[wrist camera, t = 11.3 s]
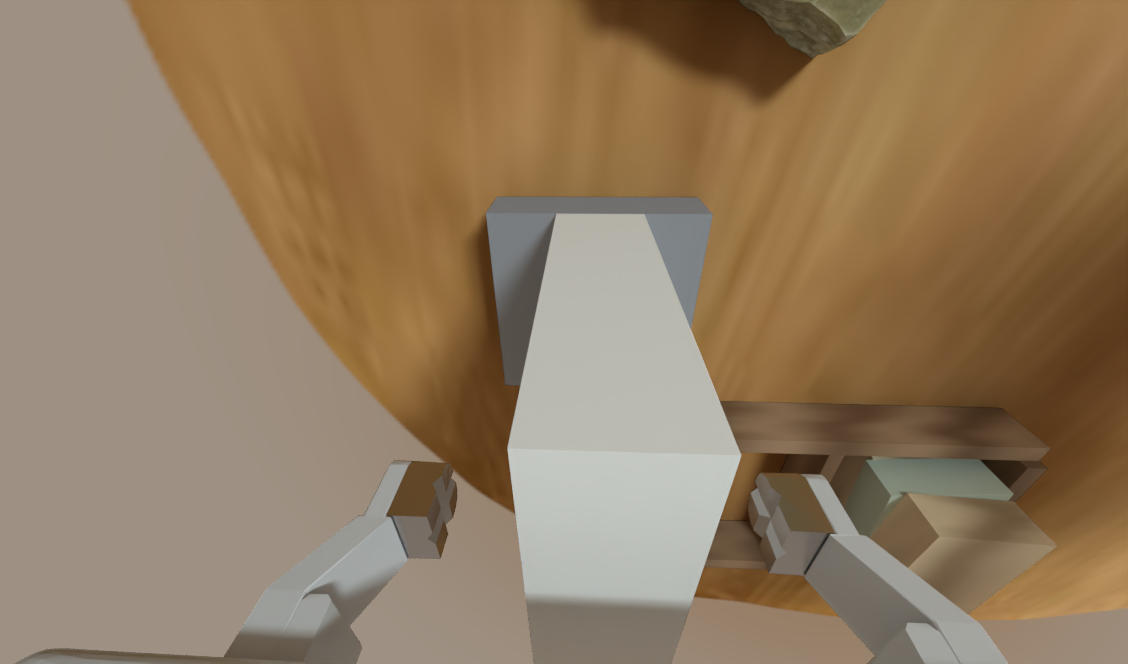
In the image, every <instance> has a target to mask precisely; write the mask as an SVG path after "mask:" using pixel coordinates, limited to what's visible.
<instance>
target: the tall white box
mask: <svg viewBox="0 0 1128 664" xmlns="http://www.w3.org/2000/svg"><path fill="white" fill-rule="evenodd" d="M507 450H508V458H509V466H510V474H511V482H512V490H513V498H514V507H515V515H516V523H517V531H518V538H519V547H520V556H521V564H522V572H523V580H524V588H525V596H526V604H527V612H528V621H529V629H530V637H531V645H532V652H533V661H534V664H671V663H672V660H673V657H674V654H675V651H676V648H677V645H678V642H679V639H680V636H681V633H682V630H683V627H684V624H685V621H686V618H687V615H688V613H689V610H690V607H691V603H692V601H693V598H694V595H695V592H696V589H697V586H698V583H699V580H700V577H701V574H702V571H703V568H704V565H705V562H706V559H707V556H708V553H709V550H710V547H711V544H712V541H713V538H714V535H715V533H716V530H717V527H718V524H719V521H720V518H721V515H722V512H723V509H724V506H725V503H726V500H727V497H728V494H729V491H730V488H731V485H732V482H733V479H734V476H735V473H736V470H737V467H738V464H739V461H740V458H741V453H740V451H739V448H738V446H737V443H736V441H735V438H734V436H733V433H732V431H731V428H730V426H729V423H728V421H727V418H726V416H725V413H724V411H723V408H722V406H721V403H720V401H719V398H718V396H717V393H716V391H715V388H714V386H713V383H712V381H711V378H710V376H709V374H708V371H707V369H706V366H705V364H704V361H703V359H702V356H701V354H700V351H699V349H698V346H697V344H696V341H695V339H694V336H693V334H692V331H691V329H690V326H689V324H688V321H687V319H686V316H685V314H684V311H683V309H682V306H681V304H680V301H679V299H678V296H677V294H676V291H675V289H674V286H673V284H672V281H671V279H670V276H669V274H668V271H667V269H666V266H665V264H664V261H663V259H662V256H661V254H660V251H659V249H658V246H657V244H656V241H655V239H654V237H653V234H652V232H651V229H650V227H649V224H648V222H647V219H646V217H645V214H556V218H555V222H554V227H553V232H552V237H551V241H550V246H549V251H548V256H547V261H546V265H545V270H544V275H543V280H542V285H541V289H540V294H539V299H538V304H537V309H536V313H535V318H534V323H533V328H532V333H531V337H530V342H529V347H528V352H527V357H526V361H525V366H524V371H523V376H522V381H521V385H520V390H519V395H518V400H517V405H516V409H515V414H514V419H513V424H512V429H511V433H510V438H509V443H508V448H507Z"/></svg>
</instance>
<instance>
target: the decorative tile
mask: <svg viewBox="0 0 1128 664" xmlns="http://www.w3.org/2000/svg"><path fill="white" fill-rule="evenodd" d="M739 1H740V3H741V4H742V5H743V6H745V7H746V8H748V9H750V10H752V11H755V12H757V13H758V14H759V15H761V16H762V17H763V18H764V20H765V21H766V22H767V23H768V25H769V26H770V27H771V28H772V30H773V31H774V32H775V34H776V35H779V36H781V37H783V38H784V39H785V40H786V42H787V43H788V44H789V45H790V46H791V47H793V48H795V49H797V50H799V51H801V52H803V53H804V54H806V55H808V56H809V57H812V58H814V57H815V56H816V55H819V54H824V53H826V52H828V51H831V50H833V49H835V48H837V47H839V46H841V45H843V44H845V43H846V42H847V41H849V40H850V39H851V38H853V37H854V36H855V35H857V34H858V33H859V31H860V30H861V29H862V28H863V27H864V25H865V24H866V23H867V22H868V20H869V19H870V18H871V17H872V16H873V15H874V14H875V13H876V12H877V10H878V9H879V8H880V7H881V6H882V5H883V4H884V3H885V2H886V0H739Z"/></svg>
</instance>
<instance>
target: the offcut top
mask: <svg viewBox="0 0 1128 664" xmlns="http://www.w3.org/2000/svg"><path fill="white" fill-rule="evenodd" d="M870 539H871V540H872V541H874V542H875V543H876V544H878V545H879V546H880V547H881V548H883V549H884V550H885V551H887V552H888V553H889V554H890V555H892V556H893V557H894V558H896V559H897V560H898V561H899V562H901V563H902V564H903V565H905V566H906V567H907V568H908V569H910V570H911V571H912V572H914V573H915V574H916V575H917V576H919V577H920V578H921V579H923V580H924V581H925V582H926V583H928V584H929V585H930V586H932V587H933V588H934V589H936V590H937V591H938V592H939V593H941V594H942V595H943V596H945V597H946V598H947V599H948V600H950V601H951V602H952V603H954V604H955V605H956V606H957V607H959V608H960V609H961V610H963V611H964V612H965V613H966V614H969V613H970V612H972V611H973V610H974V609H976V608H977V607H978V606H980V605H981V604H982V603H983V602H985V601H986V600H987V599H989V598H990V597H991V596H993V595H994V594H995V593H997V592H998V591H999V590H1001V589H1002V588H1003V587H1005V586H1006V585H1007V584H1008V583H1010V582H1011V581H1012V580H1014V579H1015V578H1016V577H1018V576H1019V575H1020V574H1022V573H1023V572H1024V571H1026V570H1027V569H1028V568H1030V567H1031V566H1032V565H1034V564H1035V563H1036V562H1037V561H1039V560H1040V559H1041V558H1043V557H1044V556H1045V555H1047V554H1048V553H1049V552H1051V551H1052V550H1053V549H1055V548H1056V547H1057V545H1056V544H1055V543H1054V542H1053V541H1052V540H1051V539H1050V538H1049V537H1048V536H1047V535H1046V534H1045V533H1044V532H1043V531H1042V530H1041V529H1040V528H1039V527H1038V526H1037V525H1036V524H1035V523H1034V522H1033V521H1032V520H1031V519H1030V518H1029V517H1028V515H1027V514H1026V513H1025V512H1024V511H1023V510H1022V509H1021V508H1020V507H1019V506H1018V505H1017V504H1016V503H1015V502H1013V501H1001V500H988V499H976V498H964V497H952V496H939V495H927V494H915V493H907V494H906V495H905V496H904V497H903V498H902V500H901V501H900V502H899V503H898V504H897V506H896V507H895V508H894V509H893V510H892V511H891V513H890V514H889V515H888V516H887V518H886V519H885V520H884V521H883V522H882V524H881V525H880V526H879V527H878V528H877V530H876V531H875V532H874V533H873V534H872V536H871V537H870Z"/></svg>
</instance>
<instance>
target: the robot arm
mask: <svg viewBox="0 0 1128 664" xmlns="http://www.w3.org/2000/svg"><path fill="white" fill-rule="evenodd" d="M452 473H453V469H452V466H451V463H436V462H419V461H399V460H398V461H397V460H394V461H393V462H392V463H391V464H390V465H389V467H388V469H387V471H386V473H385V475H384V477H383V479H382V481H381V483H380V485H379V487H378V489H377V491H376V493H375V495H374V497H373V499H372V501H371V503H370V505H369V507H368V508H367V510H366V512H365V514H364V515H363V516H362V515H359V516H357V517H356V518H355V519H353V520H352V521H351V522H350V523H348V524H347V525H346V526H345V527H343V528H342V529H341V530H340V531H338V532H337V533H336V534H334V535H333V536H332V537H331V538H329V539H328V540H327V541H326V542H324V543H323V544H322V545H321V546H319V547H318V548H317V549H316V550H314V551H313V552H312V553H311V554H309V555H308V556H307V557H306V558H304V559H303V560H302V561H301V562H299V563H298V564H297V565H296V566H294V567H293V568H292V569H291V570H289V571H288V572H287V573H286V574H284V575H283V576H282V577H281V578H279V579H278V580H277V581H276V582H274V583H273V584H272V585H270V586H269V587H268V588H267V589H266V590H265V591H264V593H263V594H262V596H261V598H260V599H259V601H258V602H257V604H256V606H255V607H254V609H253V611H252V612H251V614H250V615H249V617H248V619H247V620H246V622H245V623H244V625H243V627H242V628H241V630H240V631H239V633H238V635H237V636H236V638H235V640H234V641H233V643H232V644H231V646H230V647H229V649H228V651H227V652H226V654H225V656H224V657H209V656H191V655H189V656H188V655H172V654H154V653H153V654H152V653H136V652H135V653H134V652H117V651H99V650H85V649H69V648H58V649H57V648H54V649H46V650H42V651H39V652H36V653H34V654H32V655H30V656H28V657H26V658H24V659H22V660H20V661H18V662H16V663H15V664H356V663H357V660H358V657H359V655H360V652H361V650H362V647H361V644H360V641H359V640H358V638H357V637H356V635H355V634H354V632H353V631H352V629H351V628H350V625H351V624H352V623H353V622H354V620H355V619H356V618H357V617H358V616H359V615H360V614H361V613H362V611H363V610H364V609H365V608H366V607H367V606H368V605H369V603H370V602H371V601H372V600H373V599H374V598H375V597H376V596H377V595H378V593H379V592H380V591H381V590H382V589H383V588H384V587H385V586H386V585H387V583H388V582H389V581H390V580H391V579H392V577H394V575H395V574H396V573H397V572H398V571H399V570H400V569H401V568H402V567H403V565H404V564H405V563H406V562H407V561H408V558H430V559H440V558H441V555H442V552H443V549H444V545H445V542H446V539H447V535H448V533H447V528H446V524H447V523H448V522H449V521H450V520H451V519H452V518H453V515H454V512H455V508H456V501H457V486H456V482H455V481H454V480H452V479H451V476H452ZM755 483H756V486H757V489H755V490H754V491H752V492H751V493H750V496H749V499H748V513H749V518H750V522H751V525H752V528H753V530H754V531H755V532H756V533H757V534H758V535H759V536H761V537H762V541H761V543H760V546H759V547H760V550H761V553H762V555H763V558H764V561H765V563H766V566H767V569H768V572H769V573H774V574H788V575H802V576H805V577H804V578H805V579H806V580H807V581H808V582H809V584H810V585H811V586H812V587H813V588H814V589H815V590H816V591H817V592H818V593H819V595H820V596H821V597H822V598H823V599H824V600H825V601H826V602H827V603H828V605H829V606H830V607H831V608H832V609H833V610H834V611H835V612H836V613H837V614H838V616H839V617H840V618H841V619H842V620H843V621H844V622H845V623H846V624H847V625H848V627H849V628H851V630H852V631H853V632H854V633H855V634H856V635H857V636H858V638H859V639H861V641H862V642H863V643H864V644H865V645H866V646H867V647H868V649H869V650H870V651H871V652H872V653H873V654H874V655H875V656H874V657H873V658H872V659H871V660H870V661H869V662H868V663H867V664H1008V662H1007V661H1006V660H1005V658H1004V657H1003V655H1002V654H1001V652H1000V651H999V650H998V648H997V647H996V646H995V644H994V643H993V641H992V640H991V638H990V637H989V635H988V634H987V633H986V631H985V630H984V628H983V627H982V626H981V625H980V624H979V623H978V622H977V621H975V620H974V619H973V618H972V617H970V616H969V615H968V614H966V613H965V612H964V611H963V610H961V609H960V608H959V607H957V606H956V605H955V604H954V603H952V602H951V601H950V600H948V599H947V598H946V597H945V596H943V595H942V594H941V593H939V592H938V591H937V590H936V589H934V588H933V587H932V586H930V585H929V584H928V583H926V582H925V581H924V580H923V579H921V578H920V577H919V576H917V575H916V574H915V573H914V572H912V571H911V570H910V569H908V568H907V567H906V566H905V565H903V564H902V563H901V562H899V561H898V560H897V559H896V558H894V557H893V556H892V555H890V554H889V553H888V552H887V551H885V550H884V549H883V548H881V547H880V546H879V545H878V544H876V543H875V542H874V541H872V540H871V539H870V538H869V537H867V536H865V535H859V533H858V531H857V530H856V528H855V526H854V525H853V523H852V521H851V520H850V518H849V516H848V515H847V513H846V511H845V510H844V508H843V506H842V505H841V503H840V501H839V500H838V498H837V496H836V495H835V493H834V491H833V489H832V488H831V486H830V484H829V483H828V481H827V479H826V478H825V477H824V476H822V475H818V474H798V473H760V474H759V475H757V478H756V480H755Z"/></svg>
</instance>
